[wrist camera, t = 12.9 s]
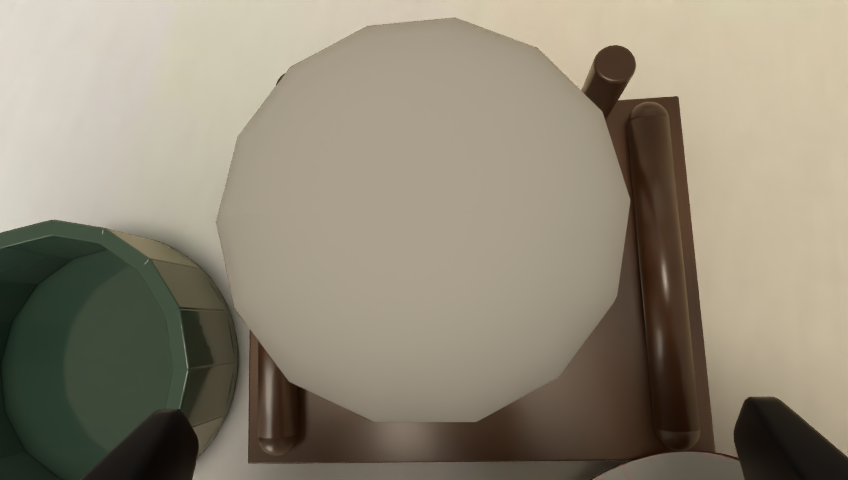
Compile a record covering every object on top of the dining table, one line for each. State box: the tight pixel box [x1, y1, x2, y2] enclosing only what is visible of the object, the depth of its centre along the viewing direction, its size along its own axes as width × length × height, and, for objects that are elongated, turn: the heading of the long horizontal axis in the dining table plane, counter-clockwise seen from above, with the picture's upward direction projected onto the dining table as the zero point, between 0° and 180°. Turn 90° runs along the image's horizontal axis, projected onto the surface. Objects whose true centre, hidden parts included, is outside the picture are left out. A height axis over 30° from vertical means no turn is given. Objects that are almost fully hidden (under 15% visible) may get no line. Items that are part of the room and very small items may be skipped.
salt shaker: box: [216, 18, 630, 422], centre depth 12 cm, size 6×6×13 cm
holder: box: [0, 220, 238, 480], centre depth 19 cm, size 9×9×4 cm
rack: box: [248, 45, 715, 464], centre depth 16 cm, size 11×14×6 cm
